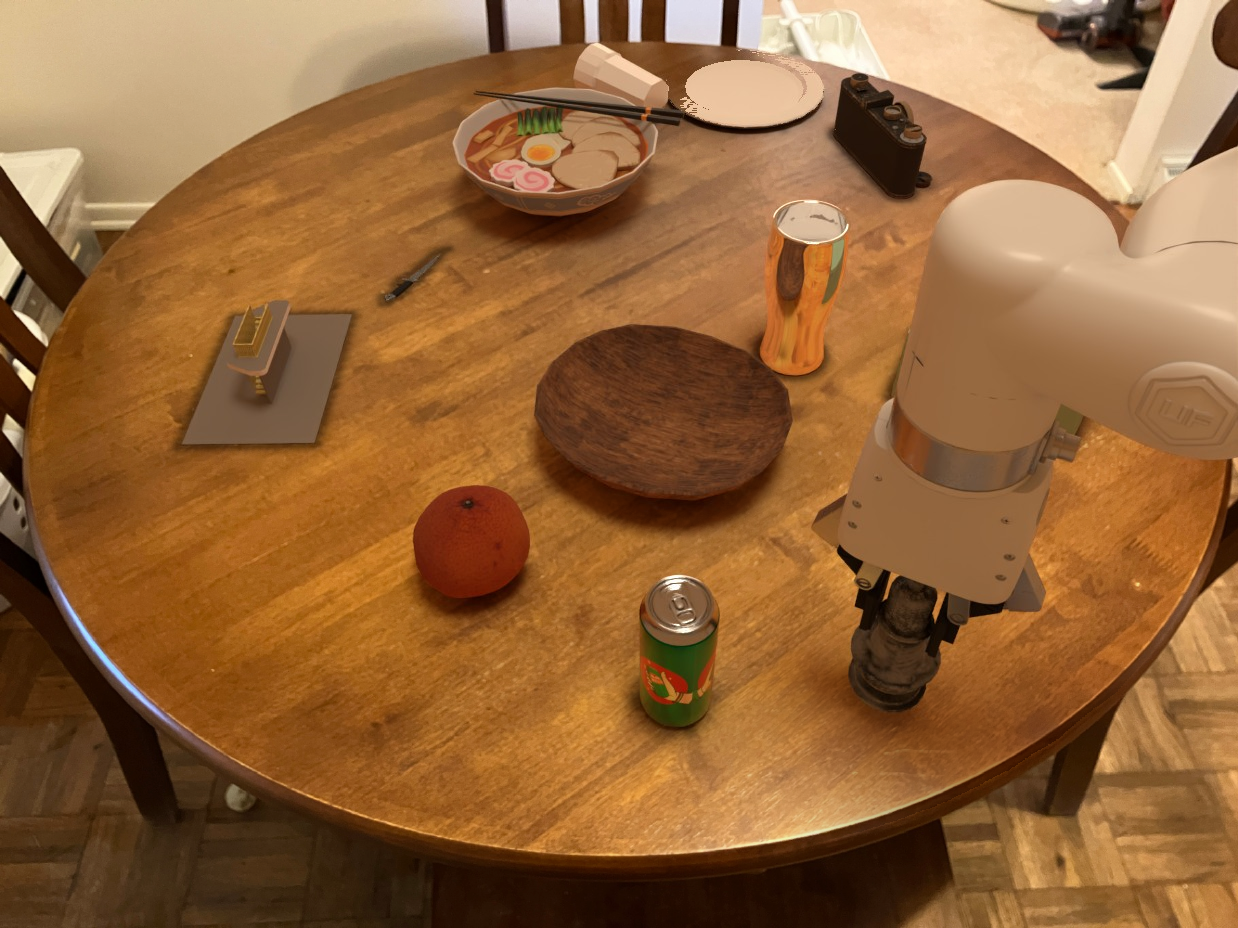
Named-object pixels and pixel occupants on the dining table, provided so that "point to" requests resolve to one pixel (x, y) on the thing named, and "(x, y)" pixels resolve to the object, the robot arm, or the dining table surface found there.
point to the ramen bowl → (558, 148)
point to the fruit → (471, 541)
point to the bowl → (663, 411)
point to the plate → (751, 93)
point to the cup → (618, 77)
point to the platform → (270, 378)
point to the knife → (409, 281)
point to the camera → (881, 136)
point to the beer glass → (802, 282)
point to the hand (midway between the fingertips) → (903, 624)
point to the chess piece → (896, 649)
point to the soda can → (677, 650)
